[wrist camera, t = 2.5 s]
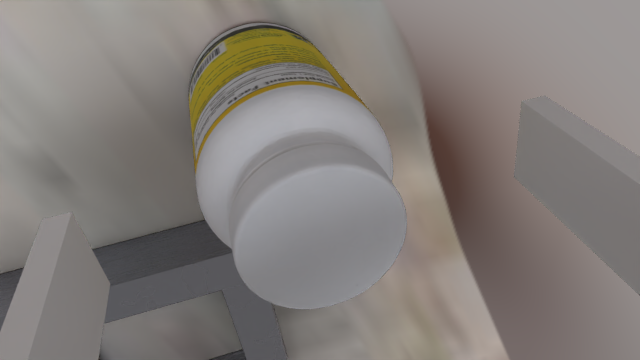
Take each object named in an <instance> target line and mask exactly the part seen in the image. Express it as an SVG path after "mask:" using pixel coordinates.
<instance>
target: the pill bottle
mask: <svg viewBox="0 0 640 360" xmlns="http://www.w3.org/2000/svg"><path fill="white" fill-rule="evenodd" d="M189 111H190V121H191V131H192V141H193V154H194V166H195V178H196V189H197V196H198V201H199V205H200V208H201V211H202V214H203V216H204V218H205V220H206V222H207V223H208V225H209V226H210V228H211V229H212V231H213V232H214V233H215V234H216V236H217V237H218V238H219V239H220V240H221V241H222V242H223V243H225V244H226V245H227V246H229V247H230V248H231V249H232V253H233V258H234V262H235V266H236V268H237V271H238V273H239V275H240V277H241V278H242V280H243V281H244V283H245V284H246V285H247V286H248V288H249V289H250V290H251V291H253V292H254V293H255V294H256V295H258V296H259V297H261V298H262V299H264V300H266V301H268V302H270V303H272V304H275V305H278V306H282V307H286V308H292V309H316V308H324V307H328V306H332V305H336V304H338V303H341V302H344V301H347V300H349V299H351V298H353V297H355V296H357V295H359V294H361V293H362V292H364V291H365V290H367V289H368V288H370V287H371V286H372V285H374V284H375V283H376V282H377V281H378V280H379V279H380V278H381V277H382V276H383V275H384V274H385V273H386V272H387V271H388V270H389V268H390V267H391V266H392V264H393V263H394V261H395V260H396V258H397V256H398V254H399V252H400V250H401V248H402V245H403V243H404V240H405V235H406V228H407V217H406V210H405V206H404V203H403V200H402V198H401V196H400V194H399V192H398V191H397V189H396V188H395V186H394V185H393V183H392V177H393V160H392V154H391V149H390V145H389V142H388V140H387V137H386V135H385V133H384V131H383V129H382V127H381V126H380V124H379V122H378V121H377V119H376V118H375V116H374V115H373V114H372V113H371V111H370V110H369V109H368V108H367V107H366V105H365V104H364V103H363V102H362V101H361V100H360V98H359V97H358V96H357V95H356V93H355V92H354V91H353V90H352V89H351V87H350V86H349V85H348V84H347V83H346V82H345V80H344V79H343V78H342V77H341V76H340V74H339V73H338V72H337V71H336V70H335V68H334V67H333V66H332V65H331V64H330V63H329V62H328V61H327V59H326V58H325V57H324V56H323V55H322V53H321V52H320V51H319V50H318V49H317V48H316V47H315V46H314V45H313V44H312V43H311V42H310V41H309V40H308V39H306V38H305V37H304V36H302V35H301V34H299V33H298V32H296V31H294V30H292V29H289V28H287V27H283V26H280V25H276V24H270V23H252V24H246V25H242V26H239V27H236V28H233V29H231V30H228V31H227V32H225V33H223V34H221V35H220V36H218V37H217V38H216V39H214V40H213V41H212V42H211V43H210V44H209V45H208V46H207V47H206V48H205V49H204V51H203V52H202V54H201V55H200V57H199V58H198V60H197V62H196V63H195V66H194V68H193V71H192V74H191V78H190V83H189Z"/></svg>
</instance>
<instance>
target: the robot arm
mask: <svg viewBox="0 0 640 360" xmlns="http://www.w3.org/2000/svg"><path fill="white" fill-rule="evenodd" d="M514 177H515V178H516V179H517V180H518V181H519V182H520V183H521V184H522V185H523V186H524V187H525V188H526V189H527V190H528V191H529V192H530V193H531V194H533V195H534V196H535V197H536V198H537V199H538V200H539V201H540V202H541V203H542V204H543V205H544V206H545V207H546V208H547V209H548V210H550V211H551V212H552V213H553V214H554V215H555V216H556V217H557V218H558V219H559V220H560V221H561V222H562V223H563V224H564V225H565V226H567V227H568V228H569V229H570V230H571V231H572V232H573V233H574V234H575V235H576V236H577V237H578V238H579V239H580V240H581V241H582V242H583V243H585V244H586V245H587V246H588V247H589V248H590V249H591V250H592V251H593V252H594V253H595V254H596V255H597V256H598V257H599V258H600V259H601V260H602V261H604V262H605V263H606V264H607V265H608V266H609V267H610V268H611V269H612V270H613V271H614V272H615V273H616V274H617V275H618V276H619V277H621V278H622V279H623V280H624V281H625V282H626V283H627V284H628V285H629V286H630V287H631V288H632V289H633V290H634V291H635V292H636V293H638V294H639V295H640V156H638V155H637V154H635V153H633V152H632V151H630V150H629V149H627V148H626V147H624V146H623V145H621V144H619V143H618V142H616V141H615V140H613V139H612V138H610V137H609V136H607V135H605V134H604V133H602V132H601V131H599V130H598V129H596V128H594V127H593V126H591V125H590V124H588V123H587V122H585V121H584V120H582V119H581V118H579V117H578V116H576V115H574V114H573V113H571V112H570V111H568V110H567V109H565V108H564V107H562V106H560V105H559V104H557V103H556V102H554V101H552V100H551V99H550V98H548V97H546V96H541V97H537V98H533V99H529V100H525V101H522V102H521V112H520V122H519V131H518V141H517V151H516V161H515V172H514ZM109 289H110V282H109V280H108V279H107V277H106V275H105V273H104V271H103V269H102V267H101V265H100V264H99V262H98V260H97V258H96V256H95V254H94V252H93V250H92V249H91V247H90V245H89V243H88V241H87V239H86V237H85V236H84V234H83V232H82V230H81V228H80V226H79V224H78V222H77V221H76V219H75V217H74V215H73V213H72V212H69V213H65V214H61V215H57V216H52V217H48V218H44V219H42V221H41V224H40V226H39V229H38V232H37V234H36V237H35V240H34V242H33V245H32V248H31V250H30V253H29V256H28V259H27V261H26V264H25V267H24V269H23V272H22V275H21V277H20V280H19V283H18V285H17V288H16V291H15V293H14V296H13V299H12V301H11V304H10V307H9V309H8V312H7V315H6V317H5V320H4V323H3V325H2V328H1V331H0V360H98V359H99V353H100V347H101V340H102V334H103V327H104V321H105V315H106V308H107V302H108V296H109Z"/></svg>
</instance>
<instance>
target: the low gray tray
mask: <svg viewBox="0 0 640 360" xmlns="http://www.w3.org/2000/svg"><path fill="white" fill-rule="evenodd" d="M93 252H94V254H95V256H96V258H97V260H98V262H99V264H100V265H101V267H102V269H103V271H104V273H105V275H106V277H107V279H108V280H109V282H110V289H109V296H108V302H107V308H106V315H105V321H104V323H108V322H111V321H115V320H118V319H122V318H125V317H129V316H132V315H136V314H139V313H143V312H147V311H150V310H154V309H157V308H161V307H164V306H168V305H171V304H175V303H178V302H182V301H185V300H189V299H192V298H196V297H199V296H203V295H206V294H210V293H213V292H217V291H220V290H222V292H223V294H224V297H225V300H226V303H227V306H228V309H229V311H230V314H231V317H232V320H233V323H234V325H235V328H236V331H237V334H238V337H239V340H240V342H241V345H242V348H243V350H240V351H237V352H234V353H231V354H227V355H224V356H221V357H217V358H214V359H211V360H288V357H287V353H286V350H285V346H284V342H283V339H282V335H281V332H280V328H279V325H278V321H277V317H276V314H275V310H274V307H273V304H272V303H270V302H268V301H266V300H264V299H262V298H261V297H259V296H258V295H256V294H255V293H254V292H253V291H251V290H250V289H249V288H248V286H247V285H246V284H245V283H244V281H243V280H242V278H241V277H240V275H239V273H238V271H237V268H236V266H235V262H234V258H233V253H232V249H231V248H230V247H229V246H227V245H226V244H225V243H223V242H222V241H221V240H220V239H219V238H218V237H217V236H216V234H215V233H214V232H213V231H212V229H211V228H210V226H209V225H208V223H207V222H206V220H204V221H200V222H196V223H193V224H189V225H185V226H181V227H177V228H174V229H170V230H166V231H162V232H159V233H155V234H151V235H147V236H143V237H140V238H136V239H132V240H128V241H125V242H121V243H117V244H113V245H110V246H106V247H102V248H98V249H94V250H93ZM23 269H24V268H23ZM23 269H19V270H15V271H11V272H8V273H4V274H0V331H1V328H2V325H3V323H4V320H5V317H6V315H7V312H8V309H9V307H10V304H11V301H12V299H13V296H14V293H15V291H16V288H17V285H18V283H19V280H20V277H21V275H22V272H23ZM98 360H99V359H98Z"/></svg>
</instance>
